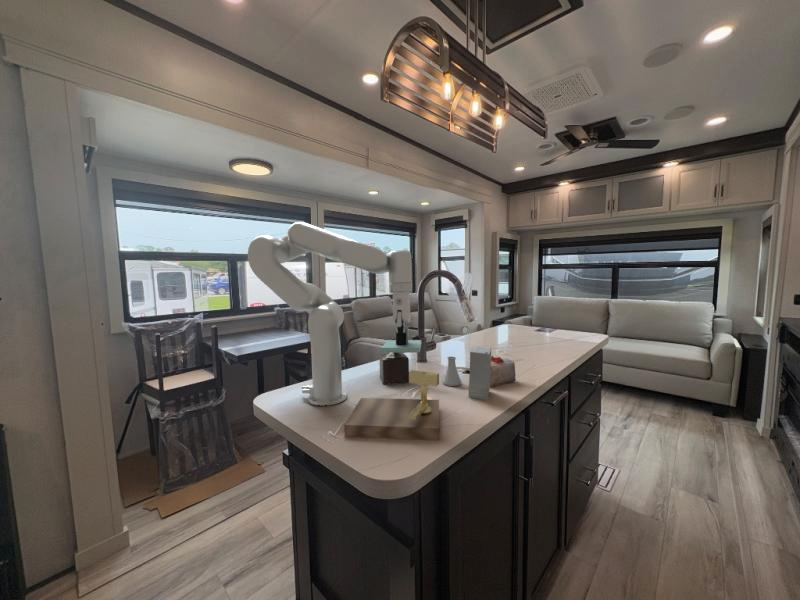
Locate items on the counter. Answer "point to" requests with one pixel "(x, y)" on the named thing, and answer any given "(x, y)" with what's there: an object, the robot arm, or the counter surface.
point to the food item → (501, 371)
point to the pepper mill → (395, 366)
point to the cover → (410, 346)
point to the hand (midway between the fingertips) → (402, 343)
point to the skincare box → (479, 372)
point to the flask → (451, 373)
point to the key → (422, 391)
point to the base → (392, 419)
